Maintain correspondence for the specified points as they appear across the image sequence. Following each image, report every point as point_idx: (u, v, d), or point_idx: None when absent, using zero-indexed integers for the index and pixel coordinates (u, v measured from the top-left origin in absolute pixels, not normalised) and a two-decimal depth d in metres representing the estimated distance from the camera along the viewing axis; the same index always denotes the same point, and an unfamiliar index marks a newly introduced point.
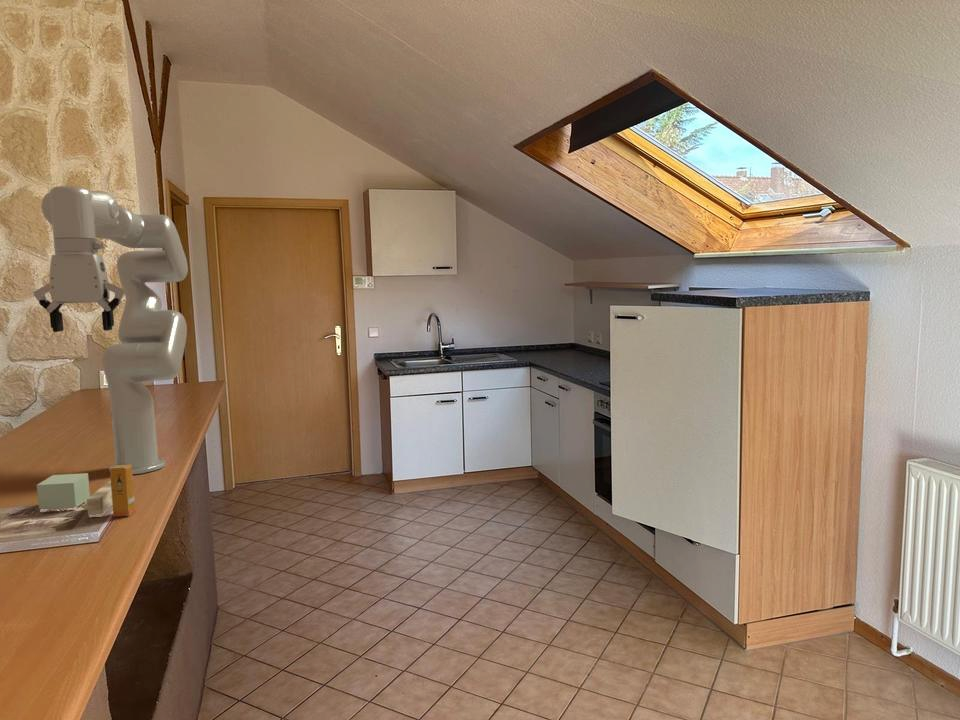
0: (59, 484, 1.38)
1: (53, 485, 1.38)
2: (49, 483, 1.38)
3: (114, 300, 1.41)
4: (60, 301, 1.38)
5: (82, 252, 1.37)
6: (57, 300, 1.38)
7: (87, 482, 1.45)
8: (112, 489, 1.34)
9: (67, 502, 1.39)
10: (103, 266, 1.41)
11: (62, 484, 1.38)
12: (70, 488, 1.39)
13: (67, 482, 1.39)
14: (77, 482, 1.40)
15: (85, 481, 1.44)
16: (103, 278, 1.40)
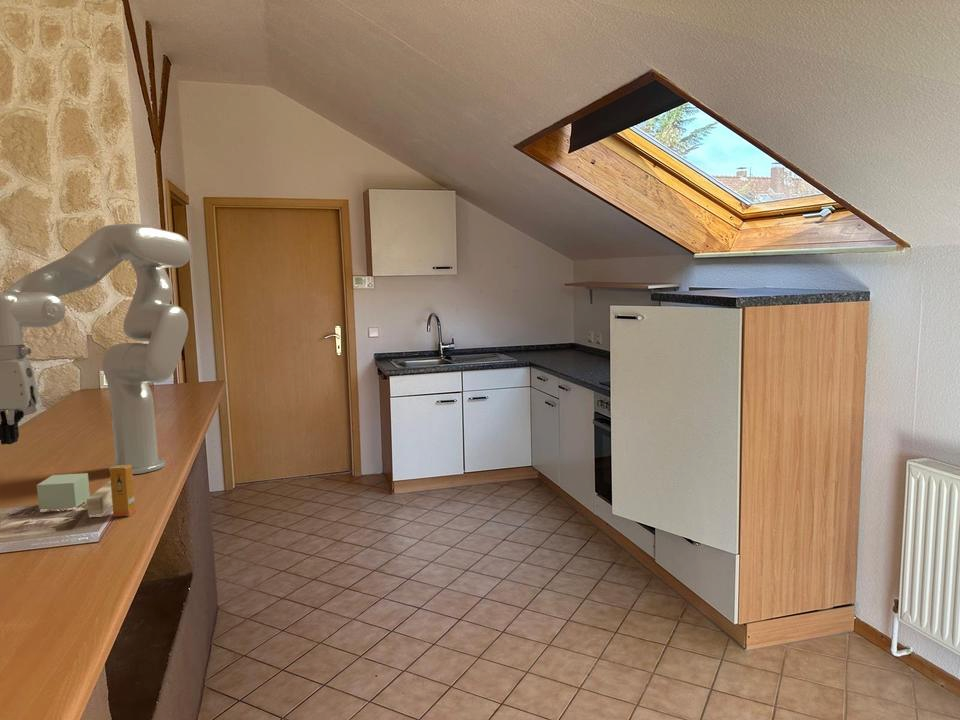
0: (59, 484, 1.38)
1: (53, 485, 1.38)
2: (49, 483, 1.38)
3: (18, 413, 1.37)
4: None
5: (7, 360, 1.34)
6: None
7: (87, 481, 1.45)
8: (112, 489, 1.34)
9: (67, 502, 1.39)
10: (30, 371, 1.39)
11: (62, 484, 1.38)
12: (70, 488, 1.39)
13: (67, 482, 1.39)
14: (77, 482, 1.40)
15: (85, 481, 1.44)
16: (30, 384, 1.38)
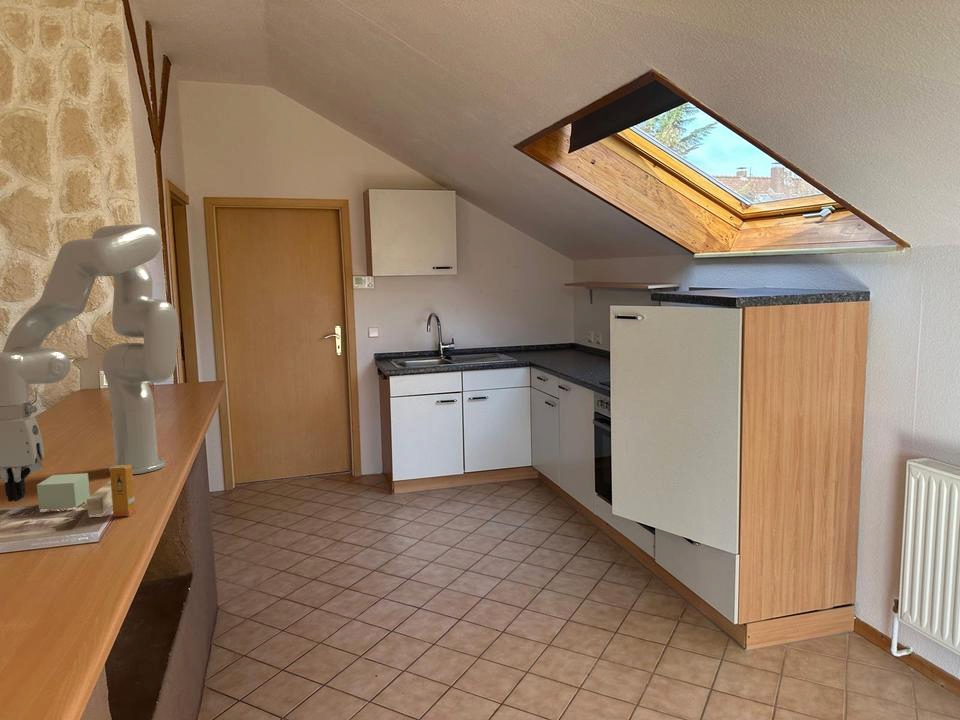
0: (59, 484, 1.38)
1: (53, 485, 1.38)
2: (49, 483, 1.38)
3: (24, 470, 1.39)
4: None
5: (13, 419, 1.36)
6: None
7: (87, 482, 1.45)
8: (112, 489, 1.34)
9: (67, 502, 1.39)
10: (36, 428, 1.40)
11: (62, 484, 1.38)
12: (70, 488, 1.39)
13: (67, 482, 1.39)
14: (77, 482, 1.40)
15: (85, 481, 1.44)
16: (36, 442, 1.39)
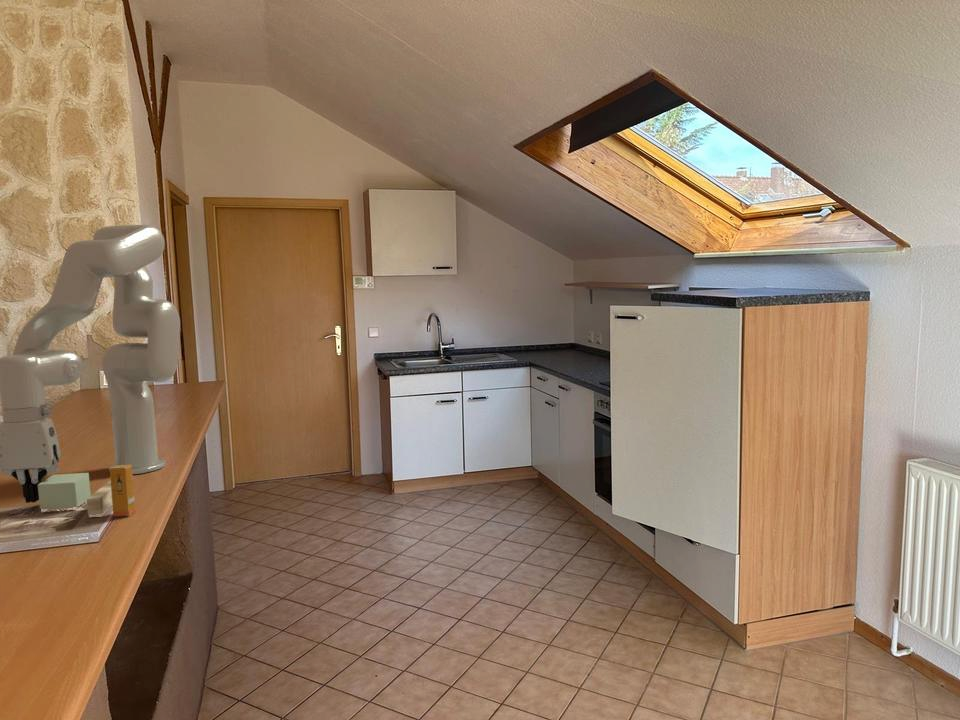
0: (60, 484, 1.38)
1: (54, 485, 1.38)
2: (50, 483, 1.38)
3: (41, 472, 1.40)
4: (9, 469, 1.38)
5: (30, 421, 1.36)
6: (6, 468, 1.38)
7: (88, 481, 1.45)
8: (112, 489, 1.34)
9: (68, 501, 1.39)
10: (53, 430, 1.41)
11: (63, 484, 1.38)
12: (71, 487, 1.39)
13: (68, 481, 1.39)
14: (78, 482, 1.40)
15: (86, 481, 1.44)
16: (52, 443, 1.40)
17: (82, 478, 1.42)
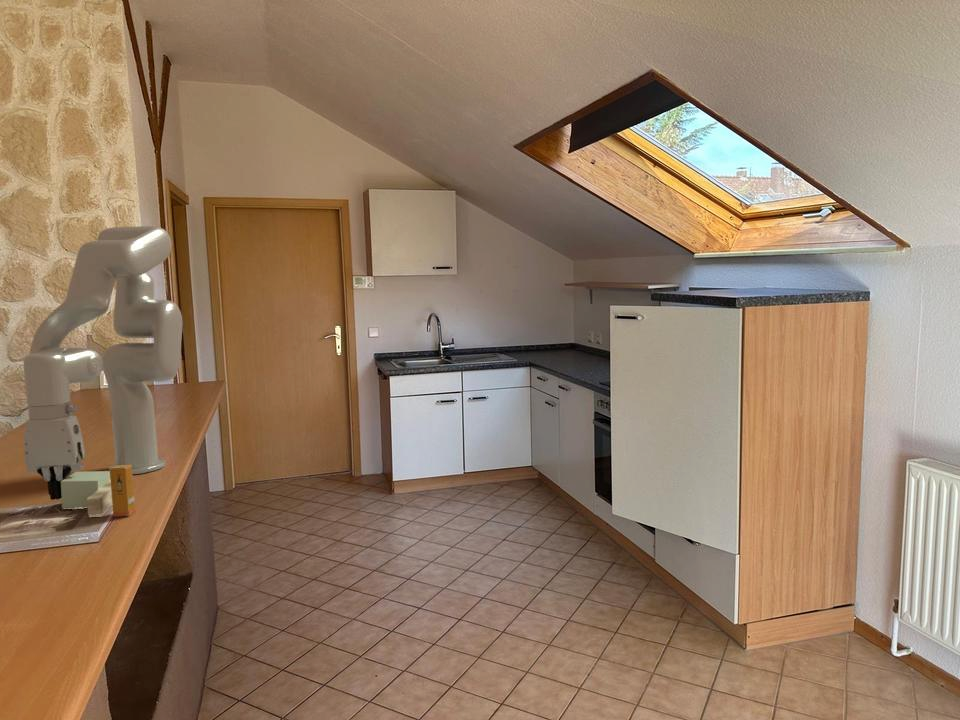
0: (83, 481, 1.39)
1: (77, 482, 1.39)
2: (73, 480, 1.39)
3: (66, 469, 1.40)
4: (34, 466, 1.39)
5: (55, 419, 1.37)
6: (31, 465, 1.39)
7: None
8: (112, 489, 1.34)
9: None
10: (77, 427, 1.42)
11: (86, 481, 1.39)
12: (94, 485, 1.39)
13: (91, 480, 1.40)
14: (101, 480, 1.41)
15: (108, 479, 1.45)
16: (77, 441, 1.40)
17: (104, 476, 1.43)
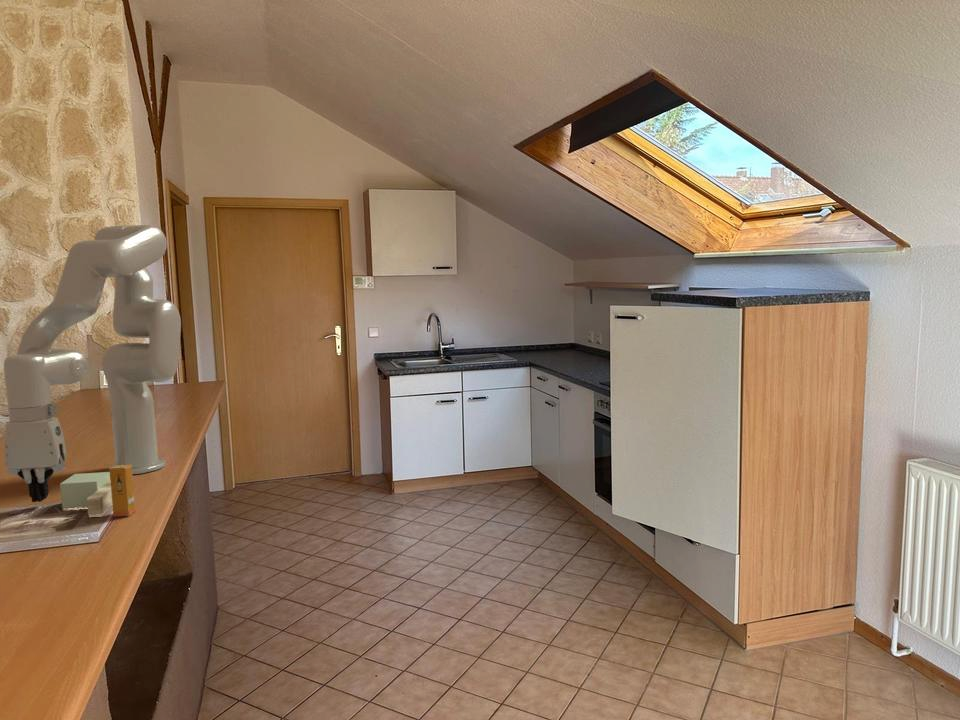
0: (82, 483, 1.39)
1: (76, 484, 1.39)
2: (72, 482, 1.39)
3: (48, 471, 1.40)
4: (15, 468, 1.38)
5: (37, 421, 1.36)
6: (12, 467, 1.38)
7: (109, 480, 1.46)
8: (112, 489, 1.34)
9: None
10: (59, 429, 1.41)
11: (85, 483, 1.39)
12: (93, 486, 1.39)
13: (90, 481, 1.40)
14: (100, 481, 1.41)
15: (107, 480, 1.45)
16: (59, 442, 1.40)
17: (103, 477, 1.43)
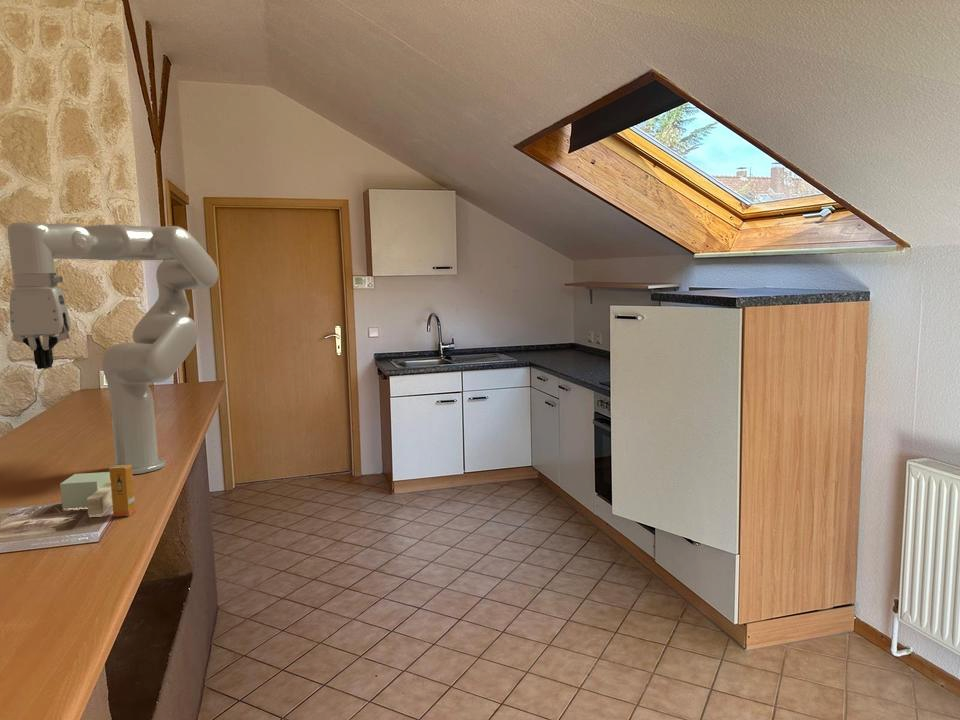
0: (82, 483, 1.39)
1: (76, 484, 1.39)
2: (72, 482, 1.39)
3: (52, 339, 1.43)
4: (20, 334, 1.41)
5: (40, 287, 1.40)
6: (17, 333, 1.41)
7: (109, 480, 1.46)
8: (112, 489, 1.34)
9: None
10: (62, 299, 1.44)
11: (85, 483, 1.39)
12: (93, 486, 1.39)
13: (90, 481, 1.40)
14: (100, 481, 1.41)
15: (107, 480, 1.45)
16: (62, 311, 1.43)
17: (103, 477, 1.43)
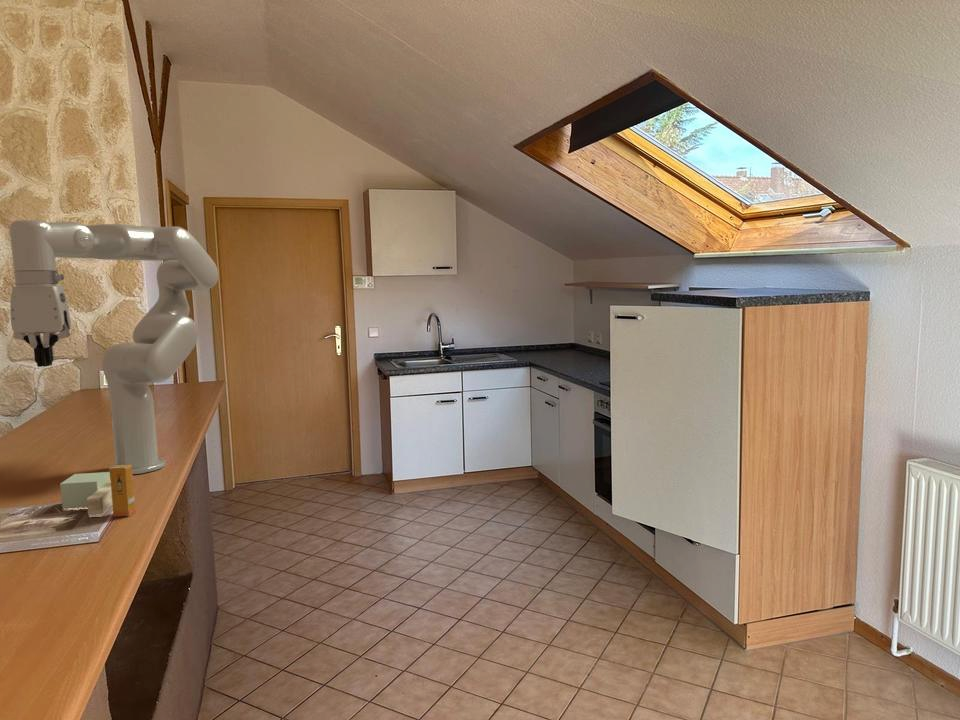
0: (82, 483, 1.39)
1: (76, 484, 1.39)
2: (72, 482, 1.39)
3: (53, 337, 1.43)
4: (21, 332, 1.41)
5: (42, 284, 1.40)
6: (18, 331, 1.41)
7: (109, 480, 1.46)
8: (112, 489, 1.34)
9: None
10: (63, 296, 1.45)
11: (85, 483, 1.39)
12: (93, 486, 1.39)
13: (90, 481, 1.40)
14: (100, 481, 1.41)
15: (107, 480, 1.45)
16: (63, 309, 1.43)
17: (103, 477, 1.43)
